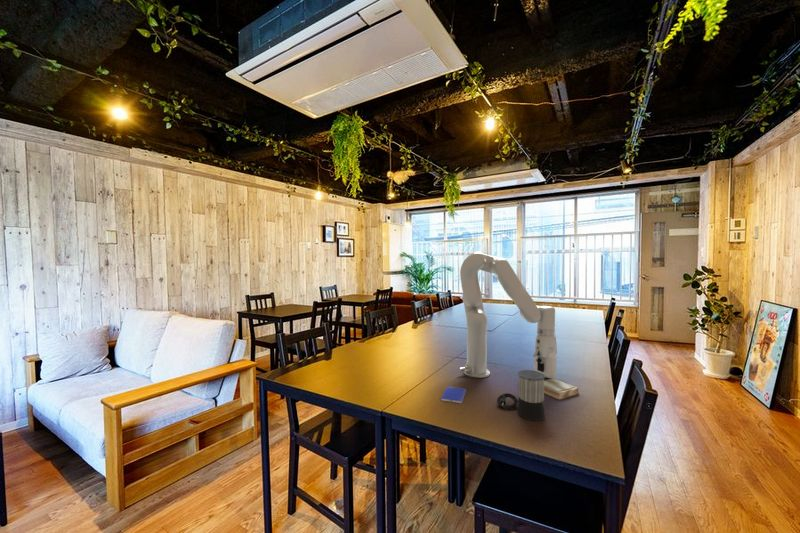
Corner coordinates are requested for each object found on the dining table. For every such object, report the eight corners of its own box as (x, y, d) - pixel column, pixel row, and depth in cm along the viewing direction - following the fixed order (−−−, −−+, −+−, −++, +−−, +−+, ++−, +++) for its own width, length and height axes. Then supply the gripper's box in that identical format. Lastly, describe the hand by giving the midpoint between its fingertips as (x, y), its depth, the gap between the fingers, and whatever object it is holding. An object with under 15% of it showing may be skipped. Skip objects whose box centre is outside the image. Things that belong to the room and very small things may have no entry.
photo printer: (532, 373, 154) (532, 348, 154) (536, 371, 157) (537, 347, 157) (553, 380, 146) (554, 353, 146) (557, 378, 149) (558, 351, 149)
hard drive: (447, 386, 139) (441, 397, 127) (466, 388, 136) (461, 400, 125) (447, 389, 139) (441, 401, 127) (466, 392, 136) (461, 404, 125)
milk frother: (548, 422, 110) (548, 379, 109) (500, 418, 113) (500, 376, 112) (537, 404, 124) (538, 366, 123) (495, 401, 127) (495, 363, 126)
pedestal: (558, 399, 127) (558, 392, 127) (534, 388, 138) (534, 382, 138) (578, 393, 133) (578, 387, 133) (553, 383, 143) (553, 377, 143)
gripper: (539, 335, 144) (538, 375, 144) (564, 332, 151) (563, 370, 152) (526, 332, 151) (525, 370, 151) (551, 329, 158) (550, 365, 159)
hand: (544, 369), depth 151 cm, fingers closed on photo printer, 5 cm apart
